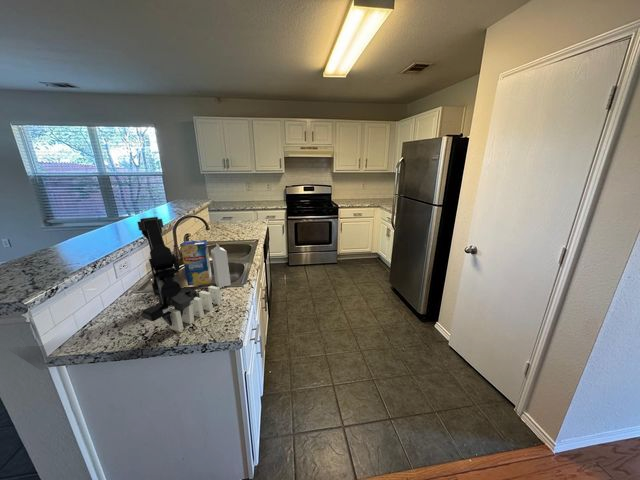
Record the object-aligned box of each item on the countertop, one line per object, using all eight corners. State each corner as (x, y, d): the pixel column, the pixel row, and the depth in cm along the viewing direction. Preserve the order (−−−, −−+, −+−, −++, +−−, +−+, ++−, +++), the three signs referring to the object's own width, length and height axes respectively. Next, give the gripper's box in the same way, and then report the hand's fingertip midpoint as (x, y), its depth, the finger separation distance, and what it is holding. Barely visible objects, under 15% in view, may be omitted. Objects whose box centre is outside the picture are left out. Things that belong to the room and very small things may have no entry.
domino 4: (201, 308, 111) (198, 292, 109) (204, 306, 113) (202, 290, 111) (209, 311, 109) (207, 294, 107) (213, 309, 111) (210, 292, 109)
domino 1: (169, 328, 98) (165, 310, 96) (174, 325, 100) (170, 308, 98) (179, 332, 96) (175, 313, 94) (183, 329, 98) (180, 311, 96)
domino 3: (191, 315, 107) (188, 298, 105) (195, 312, 109) (192, 295, 106) (200, 317, 105) (197, 300, 103) (204, 315, 107) (201, 298, 104)
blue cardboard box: (210, 283, 134) (204, 243, 128) (187, 285, 132) (180, 245, 125) (212, 277, 141) (206, 239, 134) (190, 280, 138) (183, 241, 132)
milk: (219, 288, 129) (212, 247, 122) (215, 284, 133) (209, 244, 126) (231, 285, 132) (225, 245, 125) (227, 281, 137) (222, 242, 130)
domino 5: (210, 303, 116) (207, 287, 113) (213, 301, 117) (211, 285, 115) (218, 305, 114) (216, 289, 111) (221, 303, 115) (219, 287, 113)
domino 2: (181, 321, 103) (179, 303, 101) (185, 319, 104) (183, 301, 103) (189, 324, 101) (188, 305, 99) (194, 321, 102) (192, 303, 101)
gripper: (158, 303, 81) (167, 343, 86) (204, 279, 98) (210, 314, 102) (135, 296, 86) (145, 335, 90) (184, 274, 102) (190, 308, 107)
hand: (175, 322), depth 97 cm, fingers open, 4 cm apart
